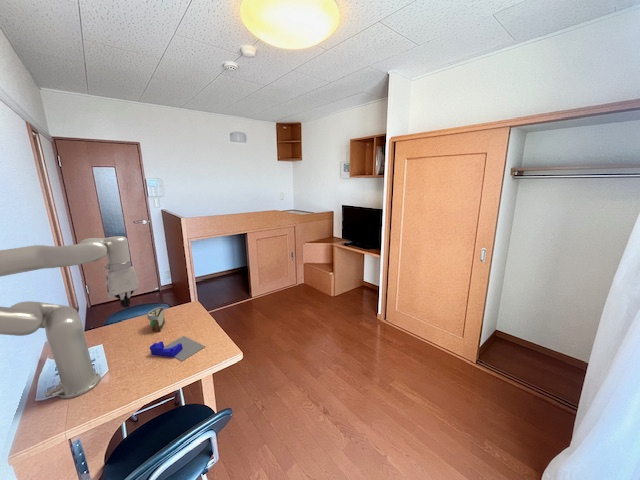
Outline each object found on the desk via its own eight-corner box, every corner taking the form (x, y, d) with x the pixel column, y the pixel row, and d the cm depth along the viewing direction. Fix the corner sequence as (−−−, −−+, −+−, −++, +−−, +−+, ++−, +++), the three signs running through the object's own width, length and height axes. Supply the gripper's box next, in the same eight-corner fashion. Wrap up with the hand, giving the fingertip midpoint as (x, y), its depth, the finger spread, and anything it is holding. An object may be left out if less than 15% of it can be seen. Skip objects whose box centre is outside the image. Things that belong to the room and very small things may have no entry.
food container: (153, 323, 148) (150, 307, 146) (165, 321, 150) (163, 306, 148) (146, 335, 137) (143, 318, 135) (159, 333, 139) (156, 316, 136)
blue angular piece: (149, 347, 120) (159, 338, 125) (151, 355, 121) (161, 346, 127) (171, 349, 117) (180, 340, 123) (173, 357, 119) (182, 348, 124)
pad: (181, 361, 116) (181, 360, 116) (160, 349, 125) (160, 348, 125) (205, 346, 126) (205, 346, 126) (184, 336, 135) (183, 335, 135)
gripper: (100, 272, 99) (108, 316, 103) (143, 263, 111) (149, 302, 115) (93, 268, 103) (101, 311, 107) (136, 260, 115) (141, 298, 119)
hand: (125, 306), depth 111 cm, fingers closed
